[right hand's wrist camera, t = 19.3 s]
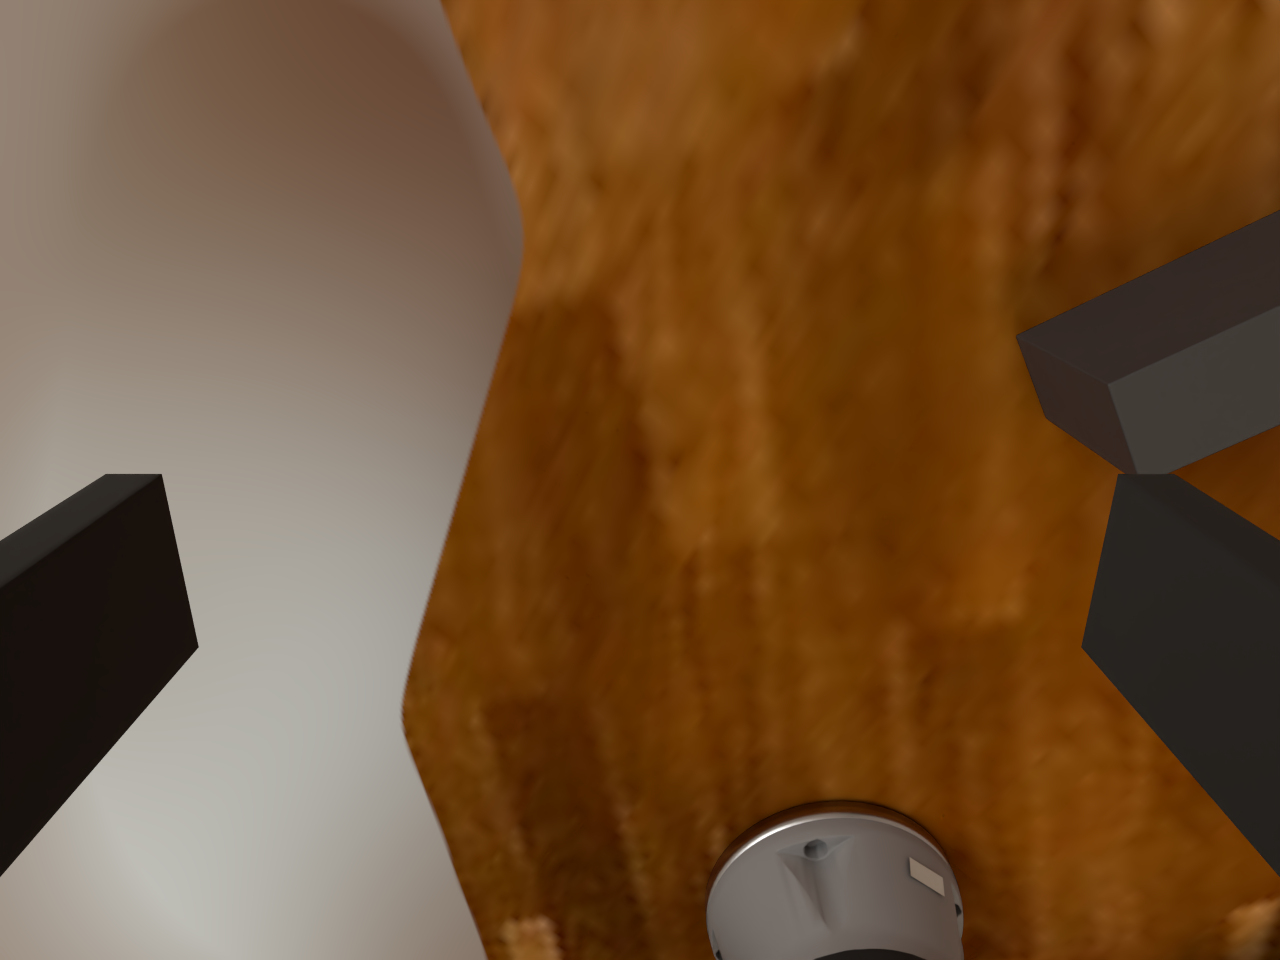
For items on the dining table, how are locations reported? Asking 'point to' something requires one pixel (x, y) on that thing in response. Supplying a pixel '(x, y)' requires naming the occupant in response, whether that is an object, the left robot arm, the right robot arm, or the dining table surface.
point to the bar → (1169, 357)
